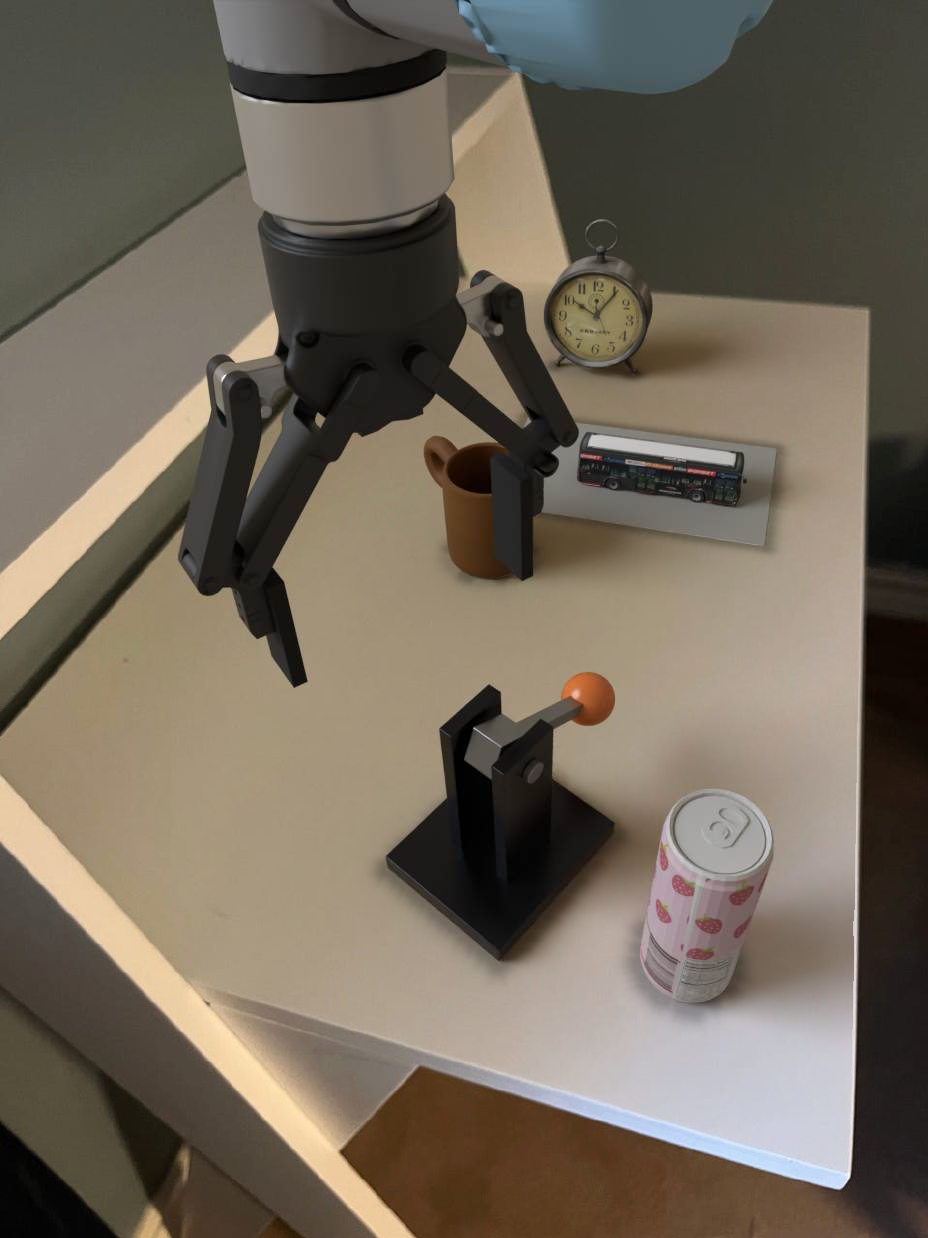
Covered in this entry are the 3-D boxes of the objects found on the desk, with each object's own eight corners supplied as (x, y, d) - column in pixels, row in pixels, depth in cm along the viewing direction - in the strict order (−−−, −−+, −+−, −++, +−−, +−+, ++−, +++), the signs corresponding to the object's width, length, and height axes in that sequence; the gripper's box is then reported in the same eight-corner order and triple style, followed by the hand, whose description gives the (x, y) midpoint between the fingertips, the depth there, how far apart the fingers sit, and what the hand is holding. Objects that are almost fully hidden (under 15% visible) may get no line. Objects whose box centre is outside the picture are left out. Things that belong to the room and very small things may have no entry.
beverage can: (736, 927, 61) (780, 794, 50) (729, 1015, 57) (775, 893, 46) (645, 908, 62) (669, 774, 51) (633, 993, 58) (656, 869, 47)
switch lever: (573, 699, 67) (588, 656, 66) (615, 726, 65) (632, 682, 64) (452, 761, 57) (466, 712, 56) (497, 795, 56) (514, 745, 54)
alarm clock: (542, 372, 106) (543, 226, 94) (553, 346, 109) (555, 203, 97) (641, 384, 103) (655, 235, 91) (650, 357, 107) (664, 211, 95)
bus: (764, 546, 85) (773, 509, 82) (491, 504, 91) (489, 468, 88) (776, 449, 94) (785, 412, 91) (528, 416, 100) (528, 381, 97)
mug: (400, 528, 89) (390, 444, 82) (463, 491, 92) (458, 408, 85) (486, 595, 82) (482, 510, 76) (550, 553, 86) (552, 468, 79)
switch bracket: (503, 756, 71) (498, 628, 61) (614, 834, 66) (629, 708, 56) (387, 867, 65) (361, 746, 55) (499, 962, 60) (492, 848, 50)
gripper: (562, 109, 43) (556, 497, 57) (-7, 254, 34) (155, 672, 48) (675, 150, 38) (637, 562, 53) (48, 332, 29) (210, 769, 44)
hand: (407, 615), depth 51 cm, fingers open, 13 cm apart
